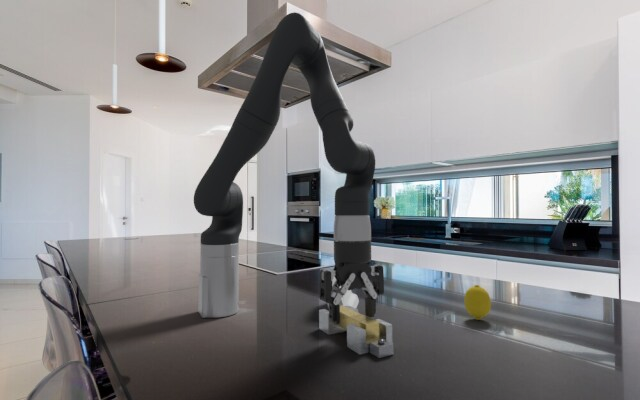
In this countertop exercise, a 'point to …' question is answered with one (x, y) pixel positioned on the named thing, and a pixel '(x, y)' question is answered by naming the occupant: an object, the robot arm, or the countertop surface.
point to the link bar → (359, 322)
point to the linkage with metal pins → (361, 335)
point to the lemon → (477, 302)
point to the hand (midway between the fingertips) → (353, 319)
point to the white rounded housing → (346, 297)
